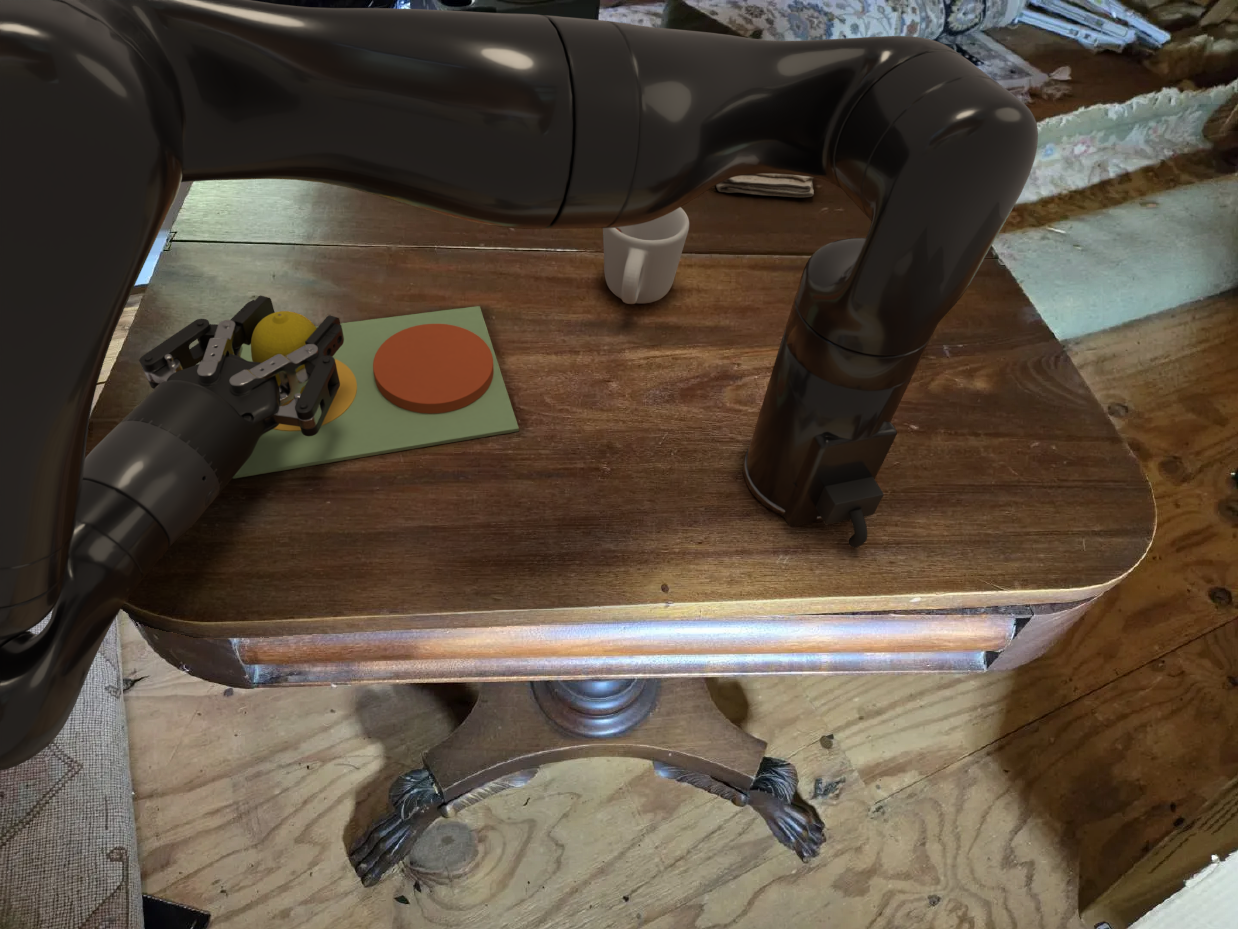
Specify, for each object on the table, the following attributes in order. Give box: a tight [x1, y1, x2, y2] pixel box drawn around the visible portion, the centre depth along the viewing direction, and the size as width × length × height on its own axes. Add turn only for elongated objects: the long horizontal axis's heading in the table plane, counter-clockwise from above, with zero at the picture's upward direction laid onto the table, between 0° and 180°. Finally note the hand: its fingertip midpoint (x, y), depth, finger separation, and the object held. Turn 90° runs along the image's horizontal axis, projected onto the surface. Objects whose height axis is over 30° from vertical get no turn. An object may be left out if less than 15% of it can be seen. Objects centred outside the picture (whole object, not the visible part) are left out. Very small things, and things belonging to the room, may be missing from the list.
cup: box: [602, 207, 690, 305], centre depth 80 cm, size 11×8×8 cm
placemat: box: [232, 305, 520, 480], centre depth 71 cm, size 16×22×2 cm
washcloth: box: [715, 174, 815, 198], centre depth 101 cm, size 12×18×3 cm, turn 0°
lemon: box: [251, 310, 317, 394], centre depth 67 cm, size 6×6×8 cm
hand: (301, 315), depth 67 cm, fingers closed on lemon, 5 cm apart
